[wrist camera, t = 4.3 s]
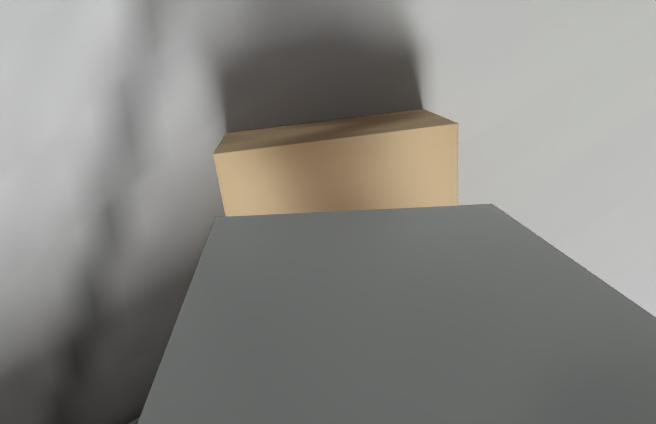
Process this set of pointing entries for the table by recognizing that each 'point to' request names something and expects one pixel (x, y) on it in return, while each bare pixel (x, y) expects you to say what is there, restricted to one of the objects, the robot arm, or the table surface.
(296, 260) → the stone cube
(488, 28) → the table surface
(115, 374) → the table surface
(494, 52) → the table surface
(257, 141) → the oak block
